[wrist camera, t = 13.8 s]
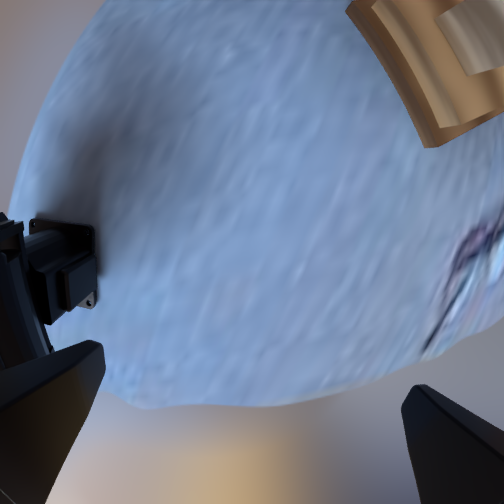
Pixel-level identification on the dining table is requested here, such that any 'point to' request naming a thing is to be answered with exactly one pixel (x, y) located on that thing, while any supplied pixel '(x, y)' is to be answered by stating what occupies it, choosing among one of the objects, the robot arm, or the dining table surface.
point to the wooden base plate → (406, 78)
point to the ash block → (475, 34)
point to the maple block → (439, 62)
